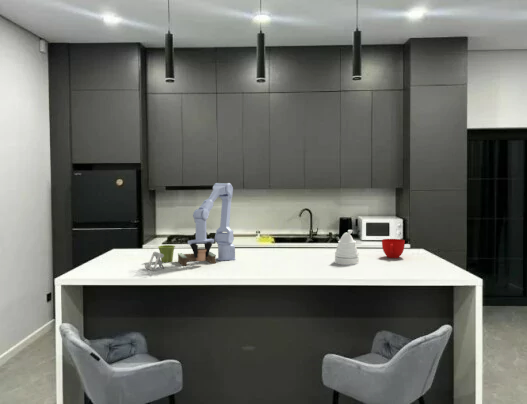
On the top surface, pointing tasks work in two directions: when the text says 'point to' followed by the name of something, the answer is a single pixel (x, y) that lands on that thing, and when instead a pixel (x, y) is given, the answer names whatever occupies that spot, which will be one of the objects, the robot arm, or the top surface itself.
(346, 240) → the honey pot
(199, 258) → the seedling pot
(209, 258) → the green brown u-shaped frame
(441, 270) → the top surface
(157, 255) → the portable electronic device stand
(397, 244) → the ceramic cup
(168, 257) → the plant pot
